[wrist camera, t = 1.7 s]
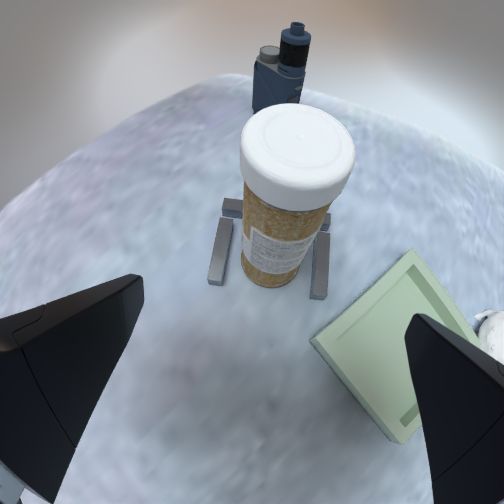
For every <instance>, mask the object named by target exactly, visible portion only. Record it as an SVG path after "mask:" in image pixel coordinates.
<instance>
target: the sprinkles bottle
mask: <svg viewBox="0 0 504 504" xmlns="http://www.w3.org/2000/svg"><path fill="white" fill-rule="evenodd" d="M355 156H356V152H355V146H354V142H353V140H352V137H351V136H350V134H349V132H348V131H347V129H346V128H345V127H344V126H343V125H342V124H341V123H340V122H339V121H338V120H337V119H335V118H334V117H333V116H331V115H329V114H328V113H326V112H324V111H322V110H320V109H317V108H314V107H311V106H307V105H303V104H292V103H287V104H278V105H273V106H270V107H267V108H264V109H262V110H260V111H259V112H257V113H256V114H254V115H253V116H252V117H251V118H250V119H249V120H248V121H247V123H246V124H245V126H244V128H243V130H242V134H241V139H240V169H241V174H242V176H243V179H244V198H243V218H242V249H243V250H242V254H241V264H242V267H243V269H244V272H245V273H246V274H247V276H248V277H249V278H250V279H251V280H252V281H253V282H255V283H256V284H258V285H261V286H264V287H270V288H273V287H280V286H282V285H284V284H286V283H288V282H289V281H291V280H292V279H293V277H294V276H295V275H296V273H297V271H298V268H299V264H300V263H301V262H302V260H303V259H304V257H305V255H306V253H307V251H308V250H309V248H310V246H311V244H312V242H313V240H314V239H315V237H316V235H317V233H318V231H319V229H320V228H321V226H322V224H323V221H324V218H325V215H326V212H327V210H328V209H329V206H330V205H331V203H332V202H333V201H334V200H335V199H336V198H337V197H338V196H339V194H340V193H341V192H342V190H343V188H344V186H345V184H346V182H347V180H348V178H349V176H350V174H351V171H352V169H353V166H354V163H355Z"/></svg>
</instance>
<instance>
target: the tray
mask: <svg viewBox="0 0 504 504" xmlns="http://www.w3.org/2000/svg"><path fill="white" fill-rule="evenodd" d="M415 313H422V314H426V315H428V316H429V317H431V318H433V319H434V320H436V321H437V322H439V323H441V324H442V325H444V326H445V327H447V328H448V329H450V330H452V331H453V332H455V333H456V334H458V335H459V336H461V337H462V338H464V339H466V340H467V341H469V342H470V343H472V344H473V345H475V346H476V347H478V348H480V347H481V345H482V344H481V342H480V340H479V339H478V337H477V336H476V334H475V333H474V331H473V329H472V328H471V326H470V325H469V323H468V322H467V320H466V319H465V317H464V316H463V314H462V313H461V311H460V310H459V308H458V307H457V306H456V304H455V303H454V301H453V300H452V298H451V297H450V296H449V294H448V293H447V291H446V290H445V289H444V287H443V286H442V285H441V283H440V282H439V281H438V279H437V278H436V277H435V275H434V274H433V273H432V271H431V270H430V269H429V267H428V266H427V265H426V264H425V262H424V261H423V260H422V259H421V257H420V256H419V255H418V254H417V252H416V251H415V250H414V249H413V248H411V249H410V250H409V251H407V252H406V253H405V254H404V255H402V256H401V257H400V258H399V259H398V260H397V261H396V262H395V263H394V264H393V265H392V266H391V267H390V268H389V269H388V270H387V271H386V272H385V273H384V274H383V275H382V276H381V277H380V278H379V279H378V280H377V281H376V282H375V283H374V284H373V285H371V286H370V287H369V288H368V289H367V290H366V291H365V292H364V293H363V294H362V295H361V296H360V297H359V298H357V299H356V300H355V301H354V302H353V303H352V304H351V305H350V306H349V307H347V308H346V309H345V310H344V311H343V312H342V313H341V314H339V315H338V316H337V317H336V318H335V319H334V320H333V321H331V322H330V323H329V324H328V325H327V326H325V327H324V328H323V329H322V330H321V331H319V332H318V333H317V334H316V335H315V336H313V337H312V338H311V339H310V340H309V341H310V343H311V344H312V345H313V346H314V348H315V349H316V350H317V351H318V352H319V354H320V355H321V356H322V357H323V359H324V360H325V361H326V362H327V364H328V365H329V366H330V367H331V369H332V370H333V371H334V372H335V374H336V375H337V376H338V377H339V379H340V380H341V381H342V382H343V384H344V385H345V386H346V387H347V388H348V390H349V391H350V392H351V393H352V395H353V396H354V397H355V398H356V400H357V401H358V402H359V403H360V405H361V406H362V407H363V408H364V409H365V411H366V412H367V413H368V414H369V416H370V417H371V418H372V419H373V420H374V422H375V423H376V424H377V425H378V427H379V428H380V429H381V430H382V431H383V433H384V434H385V435H386V436H387V438H388V439H389V440H390V441H392V442H395V443H397V444H400V445H403V444H404V443H405V442H406V441H407V440H408V439H409V438H410V437H411V436H412V435H413V434H414V433H415V431H416V430H417V429H418V428H419V427H420V426H421V425H422V422H421V417H420V412H419V408H418V404H417V399H416V395H415V391H414V387H413V383H412V379H411V375H410V369H409V363H408V357H407V351H406V346H405V340H404V335H405V332H406V330H407V327H408V325H409V323H410V321H411V318H412V316H413V315H414V314H415Z"/></svg>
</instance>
